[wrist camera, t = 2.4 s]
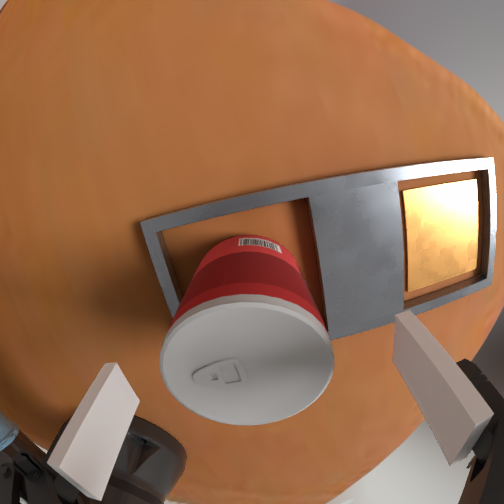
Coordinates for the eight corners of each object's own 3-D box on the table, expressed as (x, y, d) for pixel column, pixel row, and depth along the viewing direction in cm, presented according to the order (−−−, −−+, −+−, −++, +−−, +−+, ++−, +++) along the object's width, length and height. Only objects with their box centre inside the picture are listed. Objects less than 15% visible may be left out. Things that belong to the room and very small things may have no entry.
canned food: (178, 263, 22) (124, 347, 11) (269, 211, 20) (289, 263, 10) (230, 336, 24) (219, 441, 13) (314, 294, 22) (356, 390, 12)
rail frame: (194, 357, 24) (192, 365, 23) (145, 219, 21) (140, 222, 19) (485, 280, 22) (491, 284, 21) (485, 156, 19) (493, 157, 17)
